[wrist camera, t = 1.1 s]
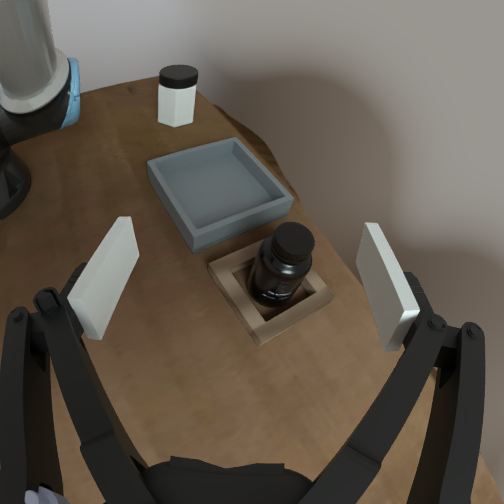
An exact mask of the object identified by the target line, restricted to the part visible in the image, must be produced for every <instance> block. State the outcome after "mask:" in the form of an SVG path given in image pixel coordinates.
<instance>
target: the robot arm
mask: <svg viewBox="0 0 504 504" xmlns="http://www.w3.org/2000/svg"><path fill="white" fill-rule="evenodd" d="M79 96H80V78H79V65H78V61H77V59H76V58H66V56H65V54H64V53H63V52H62V51H60V50H59V49H57V48H55V46H54V41H53V35H52V29H51V23H50V17H49V10H48V2H47V0H0V220H1V219H3V218H4V217H6V216H7V215H9V214H10V213H11V212H13V211H14V210H15V209H16V208H17V207H18V206H19V205H20V204H21V202H22V201H23V200H24V198H25V197H26V195H27V193H28V191H29V188H30V184H31V177H30V174H29V172H28V169H27V167H26V165H25V164H24V163H23V162H22V160H21V159H20V158H19V157H18V156H17V155H16V154H15V152H14V151H13V150H12V149H11V147H10V146H11V145H13V144H16V143H18V142H21V141H24V140H27V139H30V138H33V137H36V136H39V135H42V134H45V133H48V132H51V131H55V130H62V129H63V128H64V127H67V126H70V125H73V124H74V123H76V122H77V120H78V119H79V115H80V97H79ZM138 257H139V251H138V247H137V243H136V238H135V234H134V230H133V225H132V220H131V217H118V219H117V220H116V222H115V223H114V225H113V226H112V227H111V229H110V230H109V232H108V233H107V235H106V236H105V238H104V239H103V241H102V242H101V244H100V245H99V247H98V248H97V250H96V251H95V253H94V254H93V256H92V257H91V259H90V261H89V262H88V263H82V264H81V265H80V266H78V267H77V268H76V269H75V271H74V272H73V274H72V275H71V277H70V278H69V280H68V283H66V285H65V286H64V288H63V290H62V291H61V293H60V295H59V294H58V292H57V290H56V289H55V288H52V287H48V288H44V289H42V290H41V291H39V292H38V293H37V294H36V295H35V297H34V299H33V303H34V305H35V307H36V309H37V310H38V312H36V313H29V312H28V310H27V309H26V308H25V307H17V308H15V309H14V310H12V311H11V312H10V314H9V315H8V318H7V322H6V329H5V335H4V342H3V350H2V359H1V369H0V466H1V469H0V504H70V503H69V502H68V501H67V499H66V498H65V497H64V495H63V482H62V476H61V470H60V465H59V459H58V453H57V446H56V439H55V431H54V422H53V412H52V399H51V381H50V357H51V360H52V364H53V367H54V370H55V373H56V377H57V380H58V383H59V386H60V389H61V392H62V395H63V398H64V400H65V403H66V406H67V409H68V411H69V414H70V416H71V419H72V421H73V424H74V426H75V429H76V431H77V434H78V436H79V438H80V441H81V446H80V451H81V453H82V456H83V458H84V460H85V462H86V464H87V466H88V468H89V470H90V473H91V474H92V476H93V478H94V480H95V482H96V484H97V486H98V488H99V490H100V492H101V493H102V495H103V497H104V499H105V501H106V502H105V503H103V504H356V503H357V501H358V500H359V499H360V497H361V496H362V495H363V493H364V492H365V490H366V489H367V488H368V486H369V485H370V483H371V482H372V481H373V479H374V478H375V476H376V475H377V473H378V472H379V470H380V468H381V463H382V461H383V459H384V457H385V456H386V454H387V452H388V451H389V449H390V448H391V446H392V444H393V443H394V441H395V439H396V438H397V436H398V434H399V433H400V431H401V429H402V427H403V425H404V424H405V422H406V420H407V418H408V416H409V415H410V413H411V411H412V409H413V407H414V405H415V403H416V401H417V399H418V397H419V395H420V393H421V391H422V389H423V387H424V385H425V383H426V381H427V378H428V376H429V374H430V372H431V370H432V367H438V369H437V377H436V384H435V390H434V396H433V402H432V408H431V413H430V418H429V423H428V428H427V432H426V437H425V441H424V445H423V449H422V453H421V457H420V460H419V464H418V467H417V471H416V474H415V478H414V481H413V484H412V487H411V490H410V493H409V497H408V500H407V503H406V504H471V500H470V496H471V492H472V488H473V483H474V478H475V473H476V468H477V462H478V456H479V449H480V442H481V433H482V424H483V413H484V397H485V338H484V332H483V331H482V329H481V328H480V327H479V326H478V325H477V324H475V323H472V322H466V323H465V324H464V325H463V326H462V327H461V329H460V328H456V327H451V326H448V325H447V323H446V321H445V320H444V319H443V318H442V317H441V316H439V315H436V314H434V312H433V310H432V308H431V306H430V304H429V301H428V299H427V297H426V295H425V294H424V291H423V289H422V288H421V285H420V283H419V281H418V279H417V278H416V277H415V276H414V275H413V274H412V273H411V272H402V270H401V268H400V266H399V264H398V261H397V260H396V257H395V255H394V253H393V252H392V250H391V248H390V246H389V244H388V242H387V240H386V238H385V236H384V235H383V233H382V231H381V229H380V227H379V225H378V223H365V225H364V230H363V234H362V238H361V242H360V246H359V250H358V255H357V258H356V264H357V267H358V270H359V273H360V276H361V279H362V282H363V285H364V288H365V291H366V294H367V297H368V300H369V303H370V306H371V310H372V313H373V316H374V319H375V323H376V326H377V329H378V333H379V336H380V340H381V343H382V347H383V350H384V352H386V351H398V350H399V348H400V347H401V345H402V343H403V344H404V348H405V351H404V352H403V354H402V356H401V357H400V359H399V361H398V362H397V365H396V366H395V368H394V370H393V372H392V373H391V375H390V377H389V378H388V380H387V382H386V383H385V385H384V386H383V388H382V390H381V391H380V393H379V394H378V396H377V398H376V399H375V401H374V402H373V404H372V405H371V407H370V408H369V410H368V411H367V413H366V414H365V416H364V417H363V418H362V420H361V421H360V423H359V424H358V426H357V427H356V428H355V430H354V431H353V433H352V434H351V435H350V437H349V438H348V439H347V441H346V442H345V443H344V445H343V446H342V447H341V449H340V450H339V451H338V453H337V454H336V455H335V456H334V458H333V459H332V460H331V461H330V463H329V464H328V465H327V466H326V467H325V468H324V470H323V471H322V472H321V473H320V474H319V475H318V477H317V478H316V479H315V480H314V481H313V482H312V481H311V480H309V479H308V478H307V477H305V476H304V475H302V474H300V473H298V472H295V471H292V470H289V469H285V468H284V463H281V464H263V463H256V464H251V465H245V466H240V467H234V468H222V467H219V466H216V465H213V464H210V463H207V462H204V461H201V460H198V459H189V458H181V457H174V456H171V459H170V461H167V462H162V463H159V464H156V465H153V466H151V467H148V465H147V464H146V462H145V461H144V460H143V458H142V457H141V456H140V454H139V453H138V451H137V450H136V448H135V447H134V445H133V443H132V441H131V440H130V438H129V436H128V434H127V433H126V431H125V429H124V427H123V425H122V424H121V422H120V420H119V418H118V416H117V414H116V412H115V410H114V408H113V406H112V404H111V402H110V400H109V398H108V396H107V394H106V392H105V390H104V388H103V386H102V384H101V382H100V379H99V377H98V375H97V373H96V371H95V368H94V366H93V364H92V361H91V359H90V356H89V354H88V352H87V349H86V347H85V344H84V342H83V340H82V338H81V336H82V334H83V331H84V332H85V334H86V336H87V338H88V339H95V340H102V337H103V335H104V332H105V330H106V328H107V325H108V323H109V321H110V318H111V316H112V314H113V311H114V309H115V307H116V305H117V302H118V300H119V298H120V296H121V293H122V291H123V289H124V287H125V285H126V283H127V280H128V278H129V276H130V274H131V272H132V270H133V268H134V266H135V264H136V262H137V259H138Z"/></svg>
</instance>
